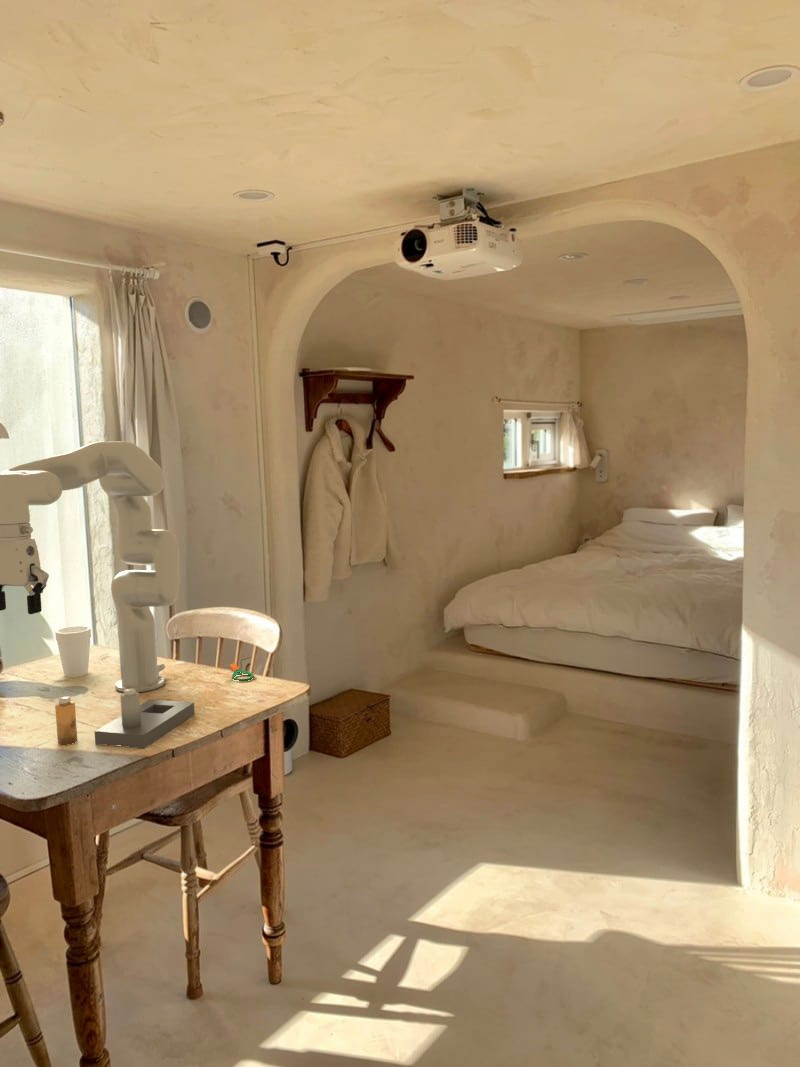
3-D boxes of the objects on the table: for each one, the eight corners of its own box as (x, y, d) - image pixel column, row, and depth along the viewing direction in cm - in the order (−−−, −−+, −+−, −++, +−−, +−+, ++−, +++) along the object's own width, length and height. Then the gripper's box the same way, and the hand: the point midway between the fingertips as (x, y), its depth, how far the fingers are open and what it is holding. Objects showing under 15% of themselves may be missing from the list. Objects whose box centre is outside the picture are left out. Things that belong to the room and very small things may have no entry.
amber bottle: (65, 738, 182) (62, 694, 181) (81, 739, 181) (78, 696, 180) (54, 744, 178) (50, 700, 177) (69, 746, 177) (66, 701, 176)
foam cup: (51, 677, 230) (47, 632, 228) (73, 668, 239) (70, 625, 237) (79, 679, 227) (76, 634, 226) (100, 670, 236) (97, 626, 234)
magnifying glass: (256, 681, 223) (256, 675, 223) (235, 684, 221) (234, 678, 221) (243, 667, 237) (243, 662, 237) (222, 670, 235) (222, 665, 234)
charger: (150, 711, 199) (147, 667, 198) (194, 714, 196) (192, 670, 195) (95, 744, 178) (92, 695, 177) (144, 748, 175) (141, 698, 174)
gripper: (57, 530, 172) (62, 610, 174) (-6, 529, 178) (-1, 606, 180) (30, 534, 165) (35, 617, 167) (-35, 532, 171) (-29, 613, 173)
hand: (16, 611), depth 173 cm, fingers open, 9 cm apart
